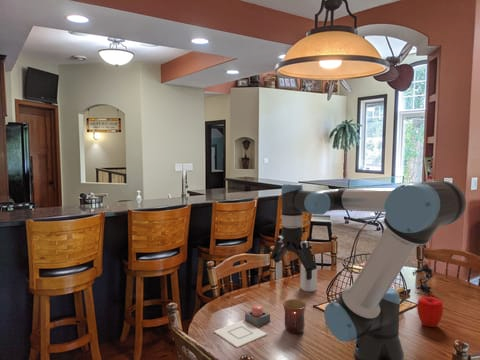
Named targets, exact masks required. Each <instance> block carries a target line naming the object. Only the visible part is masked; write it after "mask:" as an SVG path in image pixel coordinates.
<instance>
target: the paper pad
mask: <svg viewBox="0 0 480 360" xmlns="http://www.w3.org/2000/svg"><path fill="white" fill-rule="evenodd" d="M213 333H214V334H216V335H217V336H219V337H220V338H222V339H223V340H224V341H226V342H228V343H229V344H231V345H232V346H233V347H235V348H237V349H238V348H240V347H243V346H245V345H247V344H249V343H251V342H254V341H256V340H259V339H261V338H264V337H266V336H267V335H268V333H267V332H265V331H263V330H261V329H260V328H258V327H256V326H254V325H252V324H251V323H249V322H247V321H245V319H244V320H243V319H242V320H239V321H237V322H234V323H231V324H229V325H227V326H224V327H221V328H219V329H216V330H214V331H213Z"/></svg>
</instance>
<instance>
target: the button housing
mask: <svg viewBox="0 0 480 360" xmlns="http://www.w3.org/2000/svg"><path fill="white" fill-rule="evenodd" d="M244 321H246V322H247V323H249V324H251V325H253V326H254V327H256V328H258V327H260V326H263V325H265V324H268V323H270V322H271V314H270V313H268V312H266V311H265V310H263V316H260V317H255V316H253V315H252V310H250V311H247V312H244Z"/></svg>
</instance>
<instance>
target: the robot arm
mask: <svg viewBox="0 0 480 360" xmlns="http://www.w3.org/2000/svg"><path fill="white" fill-rule="evenodd" d="M280 197H281V199H280V200H281V226H282V227H281V235H280V236H276V240H275V244H274V247H273V249H272V251H271V255H270V258H269V259H271V260H273V262H274V270H275V280H281V279H283V261H282V259H283V258H284V256H285V255H286V254H287V252H292V253H294V254H295V255H297V257H298V260H299V261H300V263H301V265H302V264H303V266H304V268H305V270H304V289H308V288H310V280H311V279H312V270H315V269H317V270H318V266H317V263H316V261H315V258H314V255H313V253H312V251H311V247H310V242H309V241H302V239H303V235H304V234H303V231H304V230H303V215H304V214H303V213H307V214H311V215H315V216H316V215H325V214H326V213H327V212H333V211H356V212H373V213H374V212H375V213H384V218H383V223H384V225H385V229H384V230H383V232H382V234H381V235H380V237H379V239H378V240H377V243H376V244H375V245H374V247H373V249H372V251H371V252H370V254H369V256H368V257H367V259H366V260H365V263H364V265H363V266H362V268H361V270H360V271H359V273H358V275H357V276H356V277H355V279H354V282H353V283H352V285H348V286H346V287H344V289H342V291H341V293H340V295H339V296H338V298H337V299H336V300H335V301H331V302H329V303H327V305H326V306H325V307H324V312H323V316H324V319H325V325H326V327H327V328H328V330H329V331H330V333H331V335H333V337H334V338H335V339H336V340H338V341H339V342H342V343H349V342H354V341H355V343H354V345H353V347H354V348H353V349H354V350H353V351H354V352H353V353H354V355H355V357H356V358H357V359H358V360H405V354H404V350H403V346H402V343H401V340H400V336H399V332H400V331H399V329H400V328H399V327H400V326H399V325H400V305H401V303H400V294H399V292H398V291H397V290H396V289H394V288H392V287H391V286H392V285H393V283H394V282H395V280H396V279H397V277H398V276H399V274H400V273H401V271H402V270H403V268H404V267H405V265H406V264H407V262H408V260H409V259H410V257H411V256H412V254H413V253H414V252H415V250H416V249H417V246H423V245H427V244H428V242H429V241H430V240H431V238H432V236H433V235H434V234H435V232H436V231H437V229H438V228H439V227H443V226H447V225H450V224H451V225H452V224H454V223H456V222H457V221H458V220H459V219H460V218H462V216H463V215H464V213H465V211H466V208H467V200H466V196H465V193H464V192H463V191H462V189H461V188H460V187H459V186H457V184H454V183H453V182H450V181H446V180H432V181H423V182H421V181H412V182H411V181H410V182H407V183H405V184H400V185H398V186H397V187H384V188H383V187H382V188H379V187H378V188H377V187H375V188H371V187H370V188H367V187H366V188H345V187H343V188H334V189H333V188H332V189H324V190H323V189H322V190H304V189H303V184H301V183H283V184H282V185H281V194H280Z"/></svg>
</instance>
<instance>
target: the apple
mask: <svg viewBox="0 0 480 360" xmlns="http://www.w3.org/2000/svg"><path fill="white" fill-rule="evenodd" d="M416 307H417V308H416V309H417V310H416V311H417V315H418V317H419V321H420V322H421V324H422V325H423V326H424V327H428V328H429V327H430V328H435V327H437V326H438V325H439V324H440V322H441V319H442V316H443V313H444V305H443V301H441V300H440V299H438V298H436V297H432V296H422V297H420V298H419V299H418V301H417V306H416Z"/></svg>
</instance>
